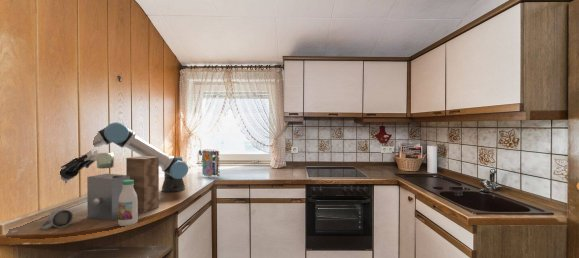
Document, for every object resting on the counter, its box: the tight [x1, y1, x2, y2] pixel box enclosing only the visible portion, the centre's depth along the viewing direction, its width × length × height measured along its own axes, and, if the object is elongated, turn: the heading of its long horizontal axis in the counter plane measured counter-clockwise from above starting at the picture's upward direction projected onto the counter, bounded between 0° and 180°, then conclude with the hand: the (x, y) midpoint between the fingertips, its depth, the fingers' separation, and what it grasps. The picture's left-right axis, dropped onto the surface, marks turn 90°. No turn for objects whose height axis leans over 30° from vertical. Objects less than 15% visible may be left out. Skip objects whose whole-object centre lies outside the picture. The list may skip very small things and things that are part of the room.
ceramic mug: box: [39, 207, 74, 231], centre depth 124 cm, size 11×8×8 cm
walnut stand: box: [125, 155, 160, 213], centre depth 151 cm, size 10×12×28 cm
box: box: [198, 148, 221, 179], centre depth 243 cm, size 25×6×24 cm, turn 55°
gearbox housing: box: [86, 173, 130, 222], centre depth 137 cm, size 12×16×20 cm
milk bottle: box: [117, 180, 139, 227], centre depth 128 cm, size 8×8×20 cm
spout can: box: [81, 152, 115, 169], centre depth 140 cm, size 7×18×7 cm, turn 72°
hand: (95, 152), depth 141 cm, fingers closed on spout can, 2 cm apart
